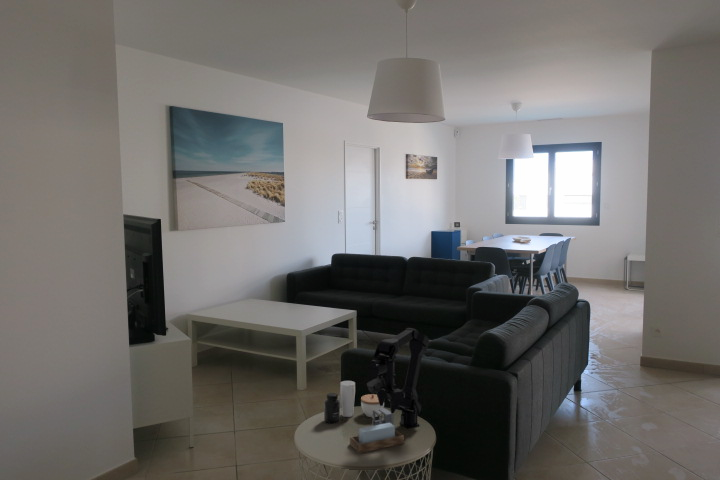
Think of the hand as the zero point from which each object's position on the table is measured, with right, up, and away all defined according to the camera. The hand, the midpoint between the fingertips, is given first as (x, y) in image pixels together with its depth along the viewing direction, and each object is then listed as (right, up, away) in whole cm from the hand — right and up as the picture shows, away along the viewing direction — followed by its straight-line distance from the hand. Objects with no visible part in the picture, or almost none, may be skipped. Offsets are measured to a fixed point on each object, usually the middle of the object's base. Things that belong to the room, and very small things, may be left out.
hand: (386, 409), depth 221 cm
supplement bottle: (-23, -11, +18) cm, 32 cm away
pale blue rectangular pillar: (-4, -12, -5) cm, 13 cm away
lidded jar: (-5, -11, +26) cm, 28 cm away
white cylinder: (-17, -11, +25) cm, 32 cm away
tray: (-4, -12, -5) cm, 14 cm away
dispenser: (-1, -12, +9) cm, 15 cm away
